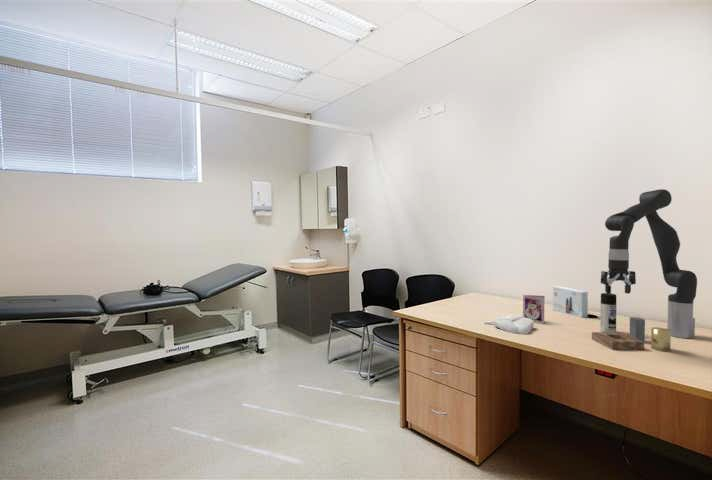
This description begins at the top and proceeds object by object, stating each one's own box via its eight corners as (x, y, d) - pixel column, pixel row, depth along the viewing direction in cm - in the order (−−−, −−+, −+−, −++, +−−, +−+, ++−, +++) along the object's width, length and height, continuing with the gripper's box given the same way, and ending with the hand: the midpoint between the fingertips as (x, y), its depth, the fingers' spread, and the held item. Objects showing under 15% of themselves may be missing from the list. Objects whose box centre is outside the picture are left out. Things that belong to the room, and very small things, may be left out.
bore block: (621, 339, 167) (621, 332, 167) (644, 349, 153) (644, 342, 153) (591, 339, 167) (591, 332, 167) (612, 349, 153) (612, 341, 153)
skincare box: (551, 309, 226) (552, 286, 225) (558, 309, 227) (558, 285, 227) (581, 318, 206) (581, 291, 205) (588, 317, 207) (588, 291, 207)
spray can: (609, 334, 175) (610, 295, 174) (596, 330, 181) (597, 293, 180) (619, 333, 176) (620, 294, 176) (606, 329, 183) (607, 292, 182)
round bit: (661, 346, 157) (662, 327, 156) (674, 351, 150) (675, 331, 150) (647, 346, 157) (647, 327, 157) (659, 351, 150) (659, 331, 150)
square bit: (637, 339, 167) (638, 317, 166) (644, 342, 163) (645, 319, 162) (629, 339, 167) (629, 317, 166) (635, 342, 163) (636, 319, 162)
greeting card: (522, 320, 202) (522, 295, 201) (527, 318, 206) (527, 293, 206) (543, 324, 193) (543, 298, 192) (548, 321, 198) (548, 296, 197)
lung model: (528, 335, 174) (479, 331, 190) (535, 328, 187) (489, 324, 203) (527, 322, 174) (478, 319, 190) (534, 316, 187) (488, 313, 203)
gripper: (628, 257, 162) (627, 291, 163) (597, 258, 163) (596, 291, 163) (640, 259, 154) (639, 294, 155) (608, 259, 155) (607, 295, 156)
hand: (617, 293), depth 159 cm, fingers open, 8 cm apart
